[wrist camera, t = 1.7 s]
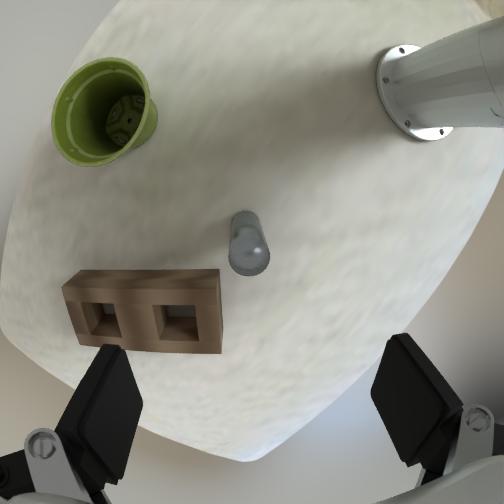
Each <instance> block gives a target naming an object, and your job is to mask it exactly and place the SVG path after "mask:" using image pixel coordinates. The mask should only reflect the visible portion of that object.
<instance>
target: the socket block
mask: <svg viewBox="0 0 504 504" xmlns="http://www.w3.org/2000/svg"><path fill="white" fill-rule="evenodd" d="M61 288H62V292H63V295H64V299H65V302H66V306H67V309H68V312H69V315H70V318H71V321H72V324H73V327H74V330H75V333H76V336H77V338H78V341H79V344H80V345H86V346H93V347H101V346H102V345H103V344H115V345H120V347H121V349H124V350H133V351H146V352H164V353H192V354H221V352H222V337H223V320H222V305H221V289H220V271H219V269H194V270H80V271H79V272H78V273H77V274H76V275H74V276H73V277H72V278H71V279H70V280H69V281H68V282H66V283H65V284H64V285H63V286H62V287H61ZM103 303H112V304H114V308H115V312H116V314H105V311H104V307H103ZM166 305H195V311H196V317H170V316H168V312H167V306H166Z"/></svg>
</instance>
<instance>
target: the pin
mask: <svg viewBox="0 0 504 504" xmlns="http://www.w3.org/2000/svg"><path fill="white" fill-rule="evenodd" d="M228 258H229V263H230V265H231V267H232V269H233V270H234V271H235V272H237V273H238V274H240V275H243V276H255V275H258V274H260V273H261V272H263V271H264V270H265V269H266V267H267V266H268V264H269V261H270V252H269V249H268V246H267V243H266V240H265V237H264V234H263V230H262V227H261V224H260V221H259V219H258V217H257V216H256V215H255V214H254V213H253V212H250V211H241V212H239V213H237V214H236V215H235V216H234V218H233V219H232V224H231V234H230V245H229V256H228Z"/></svg>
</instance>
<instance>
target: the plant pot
mask: <svg viewBox="0 0 504 504" xmlns="http://www.w3.org/2000/svg"><path fill="white" fill-rule="evenodd" d="M137 99H141V100H143V101H145V105H143V104H142V103H140V102H136V100H137ZM115 109H118V110H117V112H116V113H115V115H114V117H113V119H112V118H111V116H112V114H113V112H114V110H115ZM129 118H131V119H132V121H131V123H128V119H129ZM157 119H158V117H157V110H156V107H155V105H154V103H153V101H152V100H151V99H150V92H149V87H148V83H147V81H146V78H145V76H144V75H143V73H142V72H141V70H140V69H139V68H138V67H137V66H136V65H134V64H133V63H131V62H129V61H127V60H125V59H121V58H114V57H108V58H101V59H97V60H95V61H92V62H90V63H88V64H86V65H84V66H83V67H81V68H80V69H78V70H77V71H76V72H75V73H74V74H73V75H72V76H71V77H70V78H69V79H68V80H67V81H66V83H65V84H64V85H63V87H62V88H61V90H60V92H59V94H58V96H57V98H56V101H55V104H54V107H53V112H52V119H51V127H52V135H53V139H54V142H55V144H56V147H57V148H58V150H59V152H60V153H61V154H62V155H63V156H64V157H65V158H66V159H67V160H68V161H70V162H72V163H74V164H76V165H79V166H84V167H94V166H100V165H103V164H106V163H109V162H111V161H113V160H115V159H116V158H118V157H119V156H121V155H122V154H123V153H124V152H126V151H127V150H128V149H131V148H135V147H137V146H140V145H141V144H143V143H144V142H146V141H147V140H148V139H149V138H150V137H151V135H152V134H153V132H154V130H155V128H156V125H157ZM116 137H119V138H121V139H122V140H124V141H126V143H121V142H119V141H118V140H117V139H116Z"/></svg>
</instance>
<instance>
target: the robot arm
mask: <svg viewBox="0 0 504 504" xmlns="http://www.w3.org/2000/svg"><path fill="white" fill-rule="evenodd" d="M376 77H377V87H378V92H379V95H380V98H381V101H382V103H383V105H384V107H385V109H386V111H387V113H388V114H389V116H390V117H391V119H392V120H393V121H394V122H395V123H396V124H397V126H398V127H399V128H401V129H402V130H403V131H404V132H405V133H407V134H408V135H410V136H412V137H414V138H417V139H420V140H425V141H436V140H439V139H442V138H444V137H445V136H447V135H448V134H449V133H450V132H451V131H452V129H453V127H498V128H504V16H503V17H500V18H497V19H494V20H490V21H487V22H485V23H482V24H479V25H476V26H473V27H470V28H468V29H465V30H462V31H460V32H457V33H455V34H452V35H450V36H448V37H445V38H443V39H440V40H438V41H436V42H434V43H431V44H429V45H427V46H425V47H422V48H420V47H417V46H414V45H407V44H403V45H398V46H395V47H393V48H391V49H390V50H388V51H387V52H385V53H384V55H383V56H382V57H381V59H380V61H379V64H378V67H377V73H376ZM383 81H384V82H383ZM371 398H372V400H373V402H374V404H375V406H376V408H377V410H378V412H379V414H380V416H381V419H382V420H383V422H384V425H385V427H386V429H387V431H388V433H389V435H390V438H391V439H392V442H393V444H394V446H395V448H396V451H397V452H398V455H399V457H400V459H401V461H403V462H405V463H406V465H407V467H410V466H413V465H415V464H417V463H421V465H422V470H421V473H420V475H419V478H418V481H417V484H416V486H415V489H412V490H410V491H407V492H405V493H402V494H400V495H397V496H394V497H392V498H389V499H386V500H383V501H380V502H377V503H374V504H504V425H500V424H496V423H494V418H493V415H492V413H491V412H490V411H489V410H488V409H487V408H486V407H484V406H481V405H476V404H475V405H470V406H468V407H467V408H465V410H463V408H462V406H463V403H462V402H461V400H460V399H459V397H458V396H457V395H456V393H455V392H454V391H453V389H452V388H451V387H450V385H449V384H448V383H447V381H446V380H445V379H444V377H443V376H442V375H441V374H440V372H439V371H438V370H437V368H436V367H435V366H434V365H433V363H432V362H431V361H430V360H429V359H428V357H427V356H426V355H425V353H424V352H423V351H422V350H421V348H420V347H419V346H418V345H417V344H416V342H415V341H414V340H413V339H412V338H411V336H410V335H409V334H408V333H402V334H396V335H392V337H391V338H390V339H389V340H388V341H387V343H386V347H385V350H384V353H383V356H382V359H381V362H380V365H379V368H378V371H377V374H376V377H375V380H374V383H373V385H372V388H371ZM142 408H143V400H142V397H141V395H140V392H139V389H138V387H137V384H136V381H135V378H134V375H133V372H132V370H131V367H130V364H129V361H128V357H127V354H126V352H125V350H124V349H121V347H120V345H115V344H103V345H102V346H101V348H100V350H99V351H98V353H97V355H96V356H95V358H94V360H93V362H92V363H91V365H90V367H89V368H88V370H87V372H86V374H85V375H84V377H83V378H82V380H81V381H80V383H79V385H78V387H77V389H76V390H75V392H74V394H73V396H72V398H71V400H70V401H69V403H68V405H67V407H66V409H65V411H64V413H63V415H62V417H61V419H60V421H59V423H58V425H57V427H56V429H55V431H52V430H50V429H47V428H40V429H36V430H34V431H32V432H31V433H30V434H29V435H28V436H27V438H26V439H25V443H24V449H23V450H20V451H17V452H14V453H12V454H9V455H5V456H2V457H0V504H111V502H110V500H109V498H108V497H107V495H106V493H105V491H104V490H103V489H104V486H105V483H110V484H114V485H117V483H118V479H122V478H123V476H124V472H125V468H126V464H127V461H128V457H129V453H130V449H131V445H132V442H133V439H134V435H135V432H136V428H137V425H138V421H139V418H140V415H141V411H142Z"/></svg>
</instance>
